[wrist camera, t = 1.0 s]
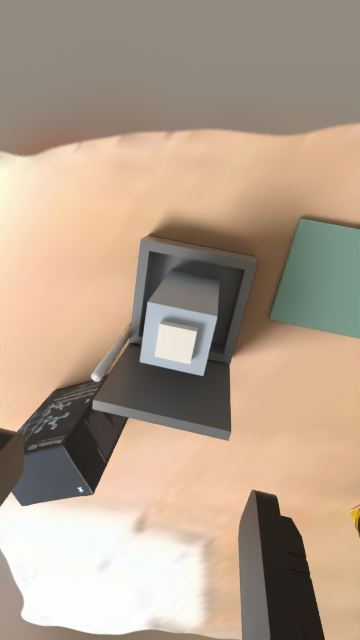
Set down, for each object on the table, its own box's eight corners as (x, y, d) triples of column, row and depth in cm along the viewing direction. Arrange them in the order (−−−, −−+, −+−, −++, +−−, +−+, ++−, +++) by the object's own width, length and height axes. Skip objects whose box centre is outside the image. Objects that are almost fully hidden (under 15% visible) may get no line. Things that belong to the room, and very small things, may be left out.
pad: (412, 238, 24) (415, 239, 24) (366, 337, 28) (368, 340, 27) (299, 218, 25) (301, 218, 24) (268, 317, 28) (269, 319, 28)
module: (219, 279, 27) (217, 320, 18) (209, 324, 29) (202, 381, 20) (170, 269, 27) (145, 305, 19) (163, 315, 29) (137, 366, 20)
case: (255, 256, 26) (273, 294, 16) (227, 359, 31) (228, 440, 21) (137, 233, 27) (85, 256, 17) (125, 337, 31) (78, 405, 21)
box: (110, 373, 33) (63, 446, 24) (131, 413, 35) (95, 497, 25) (51, 389, 35) (-14, 463, 26) (74, 427, 37) (21, 509, 27)
